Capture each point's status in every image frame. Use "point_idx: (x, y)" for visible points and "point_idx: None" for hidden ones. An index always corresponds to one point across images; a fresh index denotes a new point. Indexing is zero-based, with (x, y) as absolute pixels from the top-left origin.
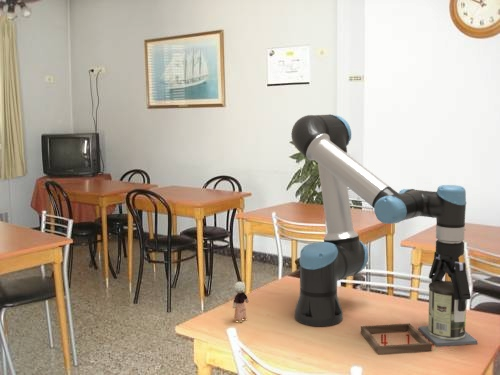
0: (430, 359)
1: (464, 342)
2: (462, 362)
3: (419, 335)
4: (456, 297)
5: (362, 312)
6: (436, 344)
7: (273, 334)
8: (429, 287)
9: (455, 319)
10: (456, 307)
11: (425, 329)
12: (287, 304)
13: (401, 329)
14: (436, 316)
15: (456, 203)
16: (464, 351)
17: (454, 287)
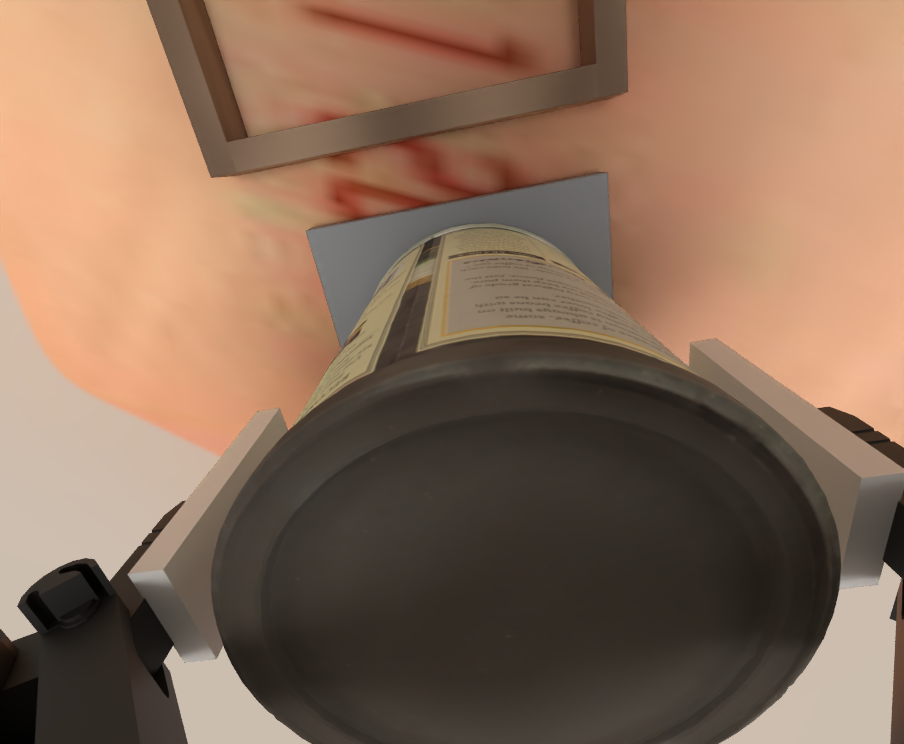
0: (100, 131)
1: None
2: (121, 320)
3: (363, 117)
4: (25, 605)
5: None
6: (308, 230)
7: None
8: (531, 343)
9: (248, 425)
10: (190, 503)
11: (549, 217)
12: None
13: (582, 6)
14: (383, 294)
15: None
16: (274, 372)
17: (87, 739)
